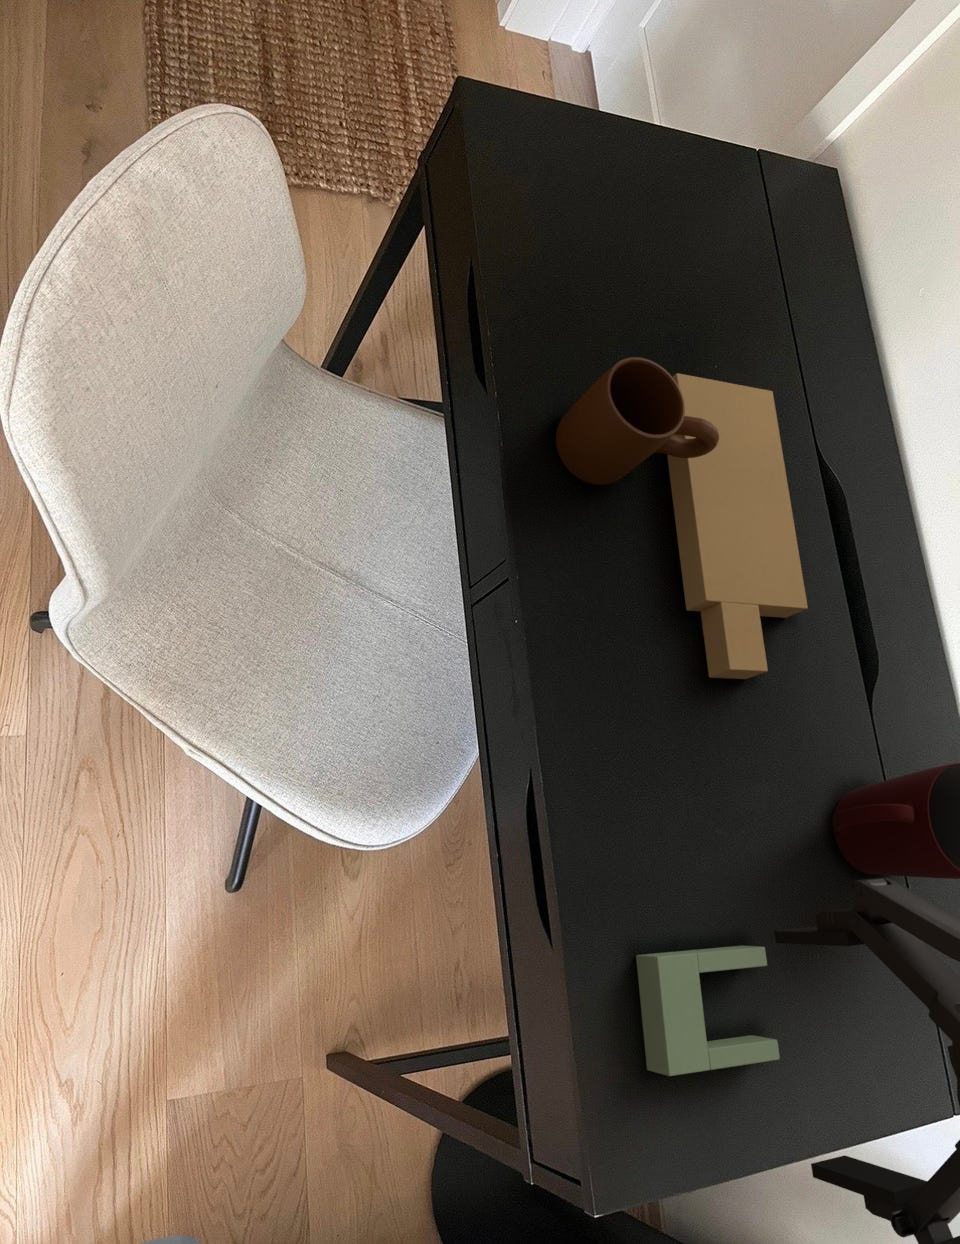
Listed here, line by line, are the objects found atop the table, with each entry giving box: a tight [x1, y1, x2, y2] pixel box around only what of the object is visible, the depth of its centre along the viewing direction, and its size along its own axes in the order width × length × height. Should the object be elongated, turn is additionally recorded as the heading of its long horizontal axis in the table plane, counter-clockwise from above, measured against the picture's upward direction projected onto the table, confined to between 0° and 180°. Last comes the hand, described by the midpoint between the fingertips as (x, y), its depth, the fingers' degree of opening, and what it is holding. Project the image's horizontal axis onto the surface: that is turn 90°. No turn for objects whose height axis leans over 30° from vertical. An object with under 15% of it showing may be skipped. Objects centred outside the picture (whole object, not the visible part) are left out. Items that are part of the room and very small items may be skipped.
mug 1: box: [555, 356, 719, 486], centre depth 79 cm, size 12×8×9 cm, turn 78°
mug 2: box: [832, 762, 960, 880], centre depth 77 cm, size 12×9×11 cm
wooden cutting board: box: [666, 372, 808, 680], centre depth 84 cm, size 11×28×3 cm, turn 3°
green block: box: [635, 945, 781, 1077], centre depth 70 cm, size 10×8×3 cm
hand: (809, 1046), depth 59 cm, fingers open, 13 cm apart
